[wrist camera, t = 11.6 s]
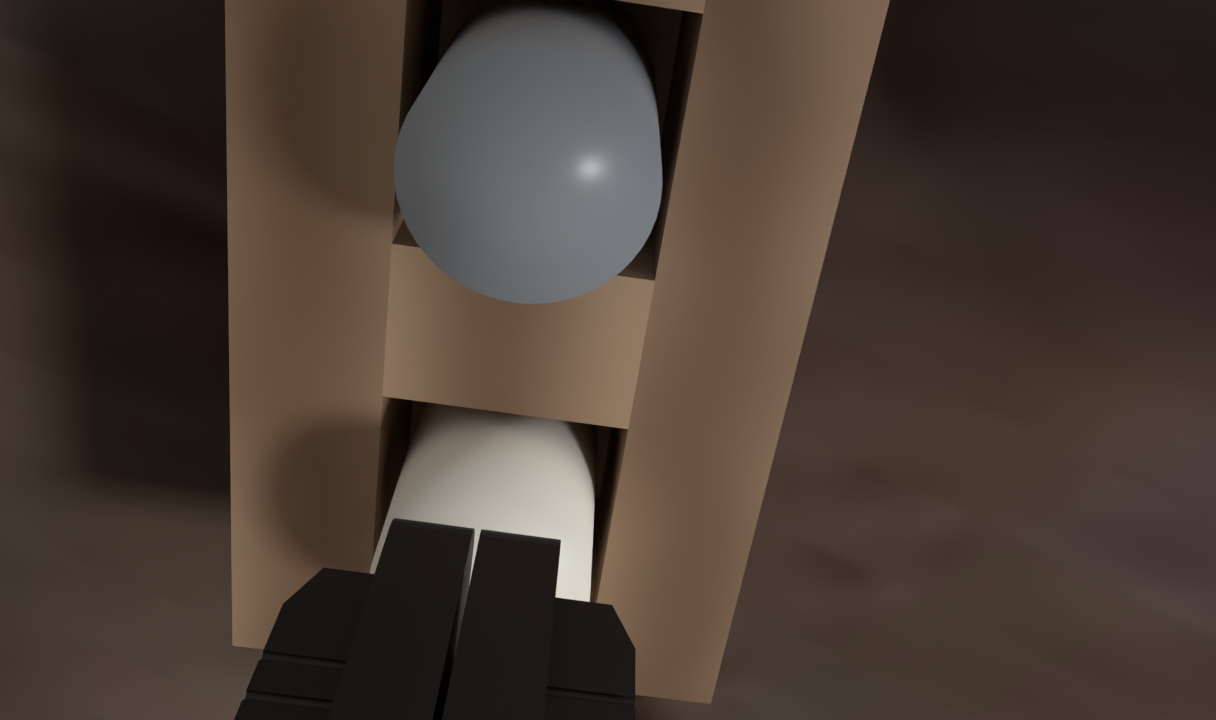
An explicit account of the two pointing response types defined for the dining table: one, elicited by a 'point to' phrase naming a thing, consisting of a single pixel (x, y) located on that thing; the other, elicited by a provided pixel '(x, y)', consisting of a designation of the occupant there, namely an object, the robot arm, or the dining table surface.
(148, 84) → the dining table surface
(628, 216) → the grey rounded cylinder
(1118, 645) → the dining table surface
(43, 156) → the dining table surface
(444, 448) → the white egg
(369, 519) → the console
